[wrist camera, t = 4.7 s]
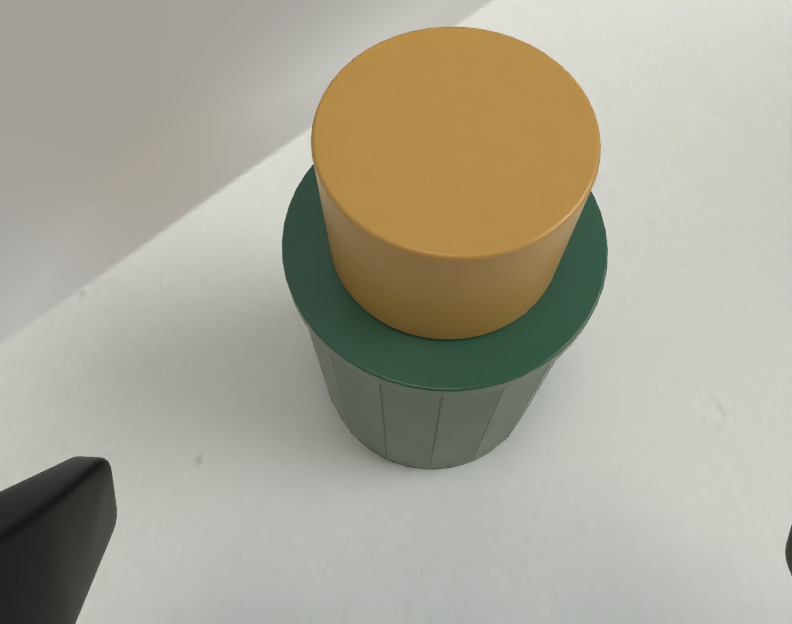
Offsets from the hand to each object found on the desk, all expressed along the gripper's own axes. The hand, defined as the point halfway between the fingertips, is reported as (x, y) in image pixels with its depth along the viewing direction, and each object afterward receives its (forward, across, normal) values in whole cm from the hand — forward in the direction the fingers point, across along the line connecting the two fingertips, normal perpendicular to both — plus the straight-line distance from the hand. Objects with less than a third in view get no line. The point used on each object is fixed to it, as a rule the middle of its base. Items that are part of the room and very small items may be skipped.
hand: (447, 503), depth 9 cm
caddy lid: (+8, 0, -1) cm, 8 cm away
